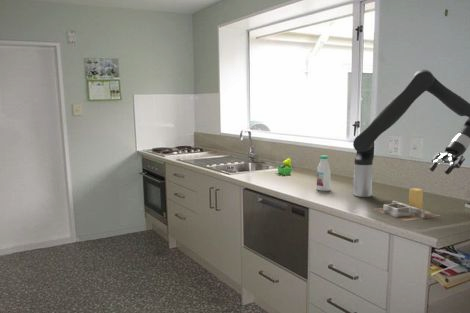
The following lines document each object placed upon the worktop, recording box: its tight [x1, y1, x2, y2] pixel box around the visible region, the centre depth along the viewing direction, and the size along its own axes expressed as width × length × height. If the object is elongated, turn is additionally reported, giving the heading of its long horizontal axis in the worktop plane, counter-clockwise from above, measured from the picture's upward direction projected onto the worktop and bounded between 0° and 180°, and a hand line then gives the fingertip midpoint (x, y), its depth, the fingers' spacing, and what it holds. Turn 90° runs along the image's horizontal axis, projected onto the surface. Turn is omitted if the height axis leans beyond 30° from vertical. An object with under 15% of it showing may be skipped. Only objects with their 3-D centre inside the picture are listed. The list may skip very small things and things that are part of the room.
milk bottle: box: [316, 154, 331, 192], centre depth 227 cm, size 8×8×20 cm
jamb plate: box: [373, 200, 441, 222], centre depth 177 cm, size 20×20×4 cm
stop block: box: [408, 187, 424, 210], centre depth 178 cm, size 4×4×10 cm
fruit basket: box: [276, 157, 293, 176], centre depth 277 cm, size 11×9×11 cm
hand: (438, 171), depth 180 cm, fingers open, 8 cm apart
